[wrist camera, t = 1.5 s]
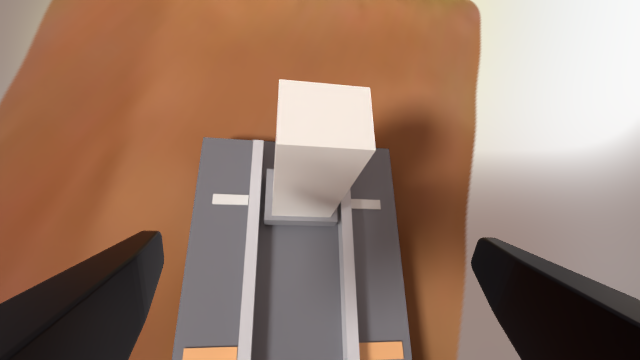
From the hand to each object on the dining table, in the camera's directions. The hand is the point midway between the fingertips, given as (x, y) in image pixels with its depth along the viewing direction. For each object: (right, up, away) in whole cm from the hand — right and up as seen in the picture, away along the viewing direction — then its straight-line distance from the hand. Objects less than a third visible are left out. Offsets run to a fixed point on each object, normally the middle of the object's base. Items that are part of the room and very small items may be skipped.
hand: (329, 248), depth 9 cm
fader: (-2, +1, +10) cm, 10 cm away
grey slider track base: (-2, -4, +10) cm, 11 cm away
